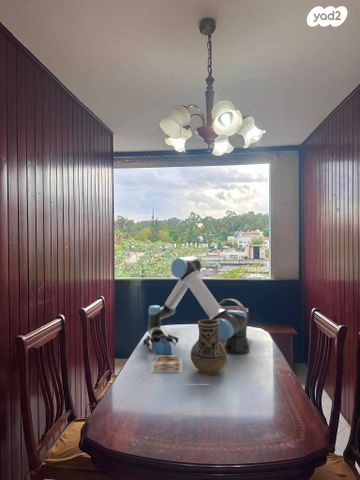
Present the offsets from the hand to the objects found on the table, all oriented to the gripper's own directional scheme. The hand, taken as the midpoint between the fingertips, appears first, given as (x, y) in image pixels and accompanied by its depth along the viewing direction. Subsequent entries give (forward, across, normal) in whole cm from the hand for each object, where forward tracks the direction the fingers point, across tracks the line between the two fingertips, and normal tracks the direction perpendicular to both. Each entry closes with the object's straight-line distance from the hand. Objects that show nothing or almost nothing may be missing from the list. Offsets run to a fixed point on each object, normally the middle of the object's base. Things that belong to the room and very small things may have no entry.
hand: (163, 345), depth 191 cm
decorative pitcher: (+25, -18, -7) cm, 32 cm away
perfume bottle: (-1, 0, -7) cm, 7 cm away
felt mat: (+13, 0, -7) cm, 15 cm away
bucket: (-26, -51, -7) cm, 58 cm away
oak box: (+13, 0, -6) cm, 14 cm away
